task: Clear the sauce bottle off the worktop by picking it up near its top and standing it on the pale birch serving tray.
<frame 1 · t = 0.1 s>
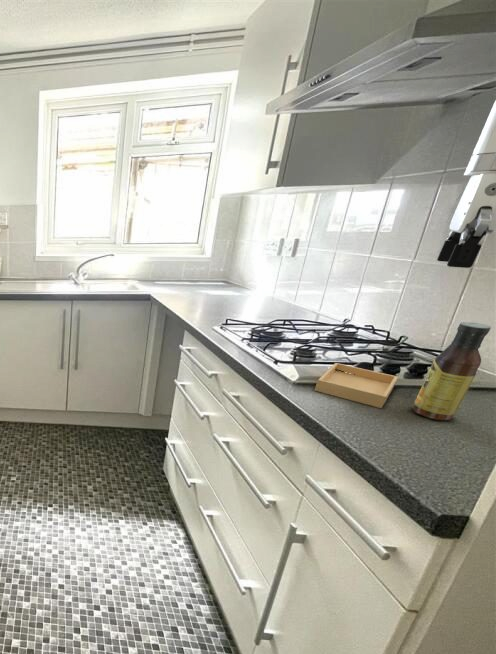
hand: (452, 264, 81), 30 cm above the countertop, tool pointing down, fingers open, 9 cm apart
serving tray: (354, 388, 100), on the countertop
sauce bottle: (430, 415, 88), on the countertop
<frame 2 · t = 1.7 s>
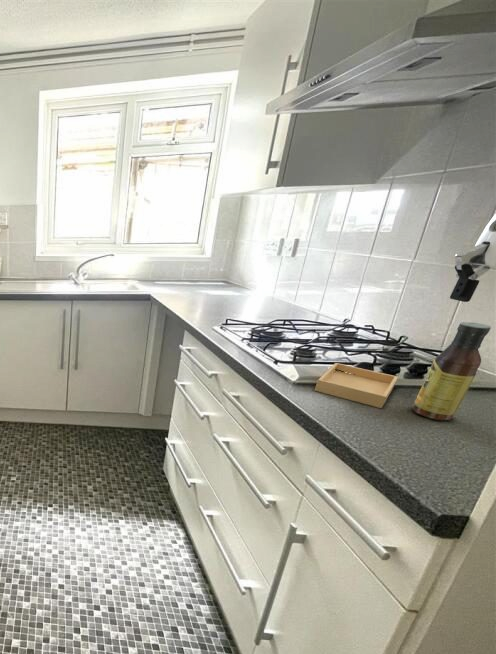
hand: (485, 301, 78), 24 cm above the countertop, tool pointing down, fingers open, 9 cm apart
nothing on the countertop moved.
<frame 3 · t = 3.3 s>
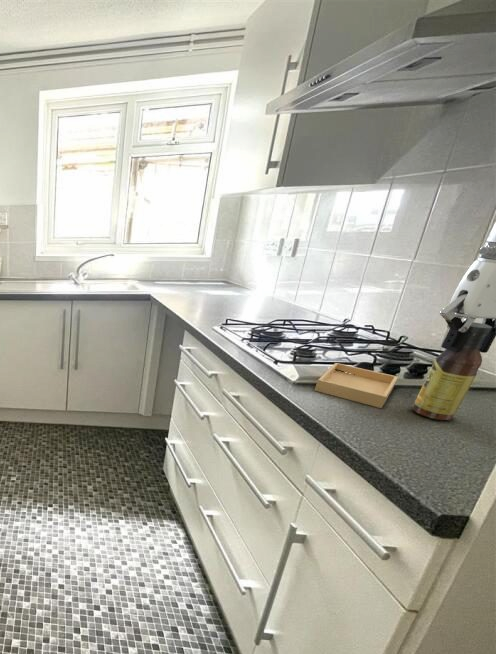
hand: (463, 349, 82), 15 cm above the countertop, tool pointing down, fingers closed on sauce bottle, 4 cm apart
sauce bottle: (430, 415, 88), on the countertop, touching gripper
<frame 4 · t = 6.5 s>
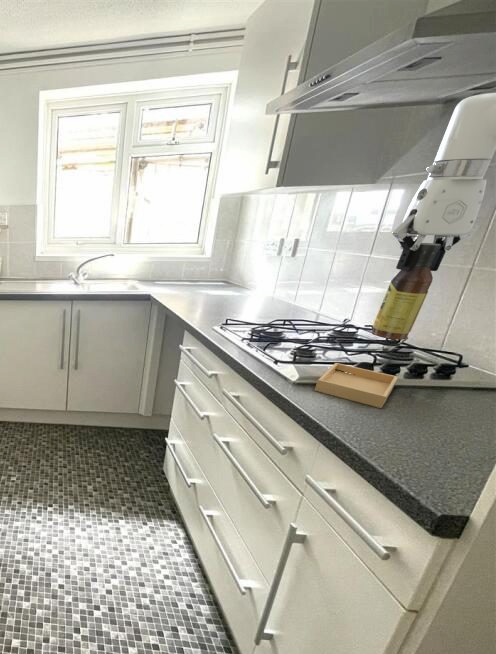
hand: (416, 269, 87), 28 cm above the countertop, tool pointing down, fingers closed on sauce bottle, 4 cm apart
sauce bottle: (387, 337, 93), point 14 cm above the countertop, touching gripper
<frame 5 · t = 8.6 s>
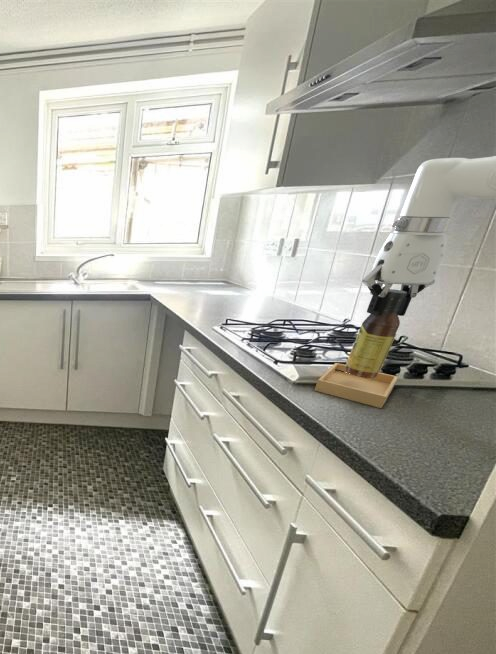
hand: (385, 313, 92), 19 cm above the countertop, tool pointing down, fingers closed on sauce bottle, 4 cm apart
sauce bottle: (359, 375, 99), point 4 cm above the countertop, touching gripper
when the fingers open (16 cm above the countertop, at t = 9.8 s): sauce bottle stays where it is, resting on serving tray.
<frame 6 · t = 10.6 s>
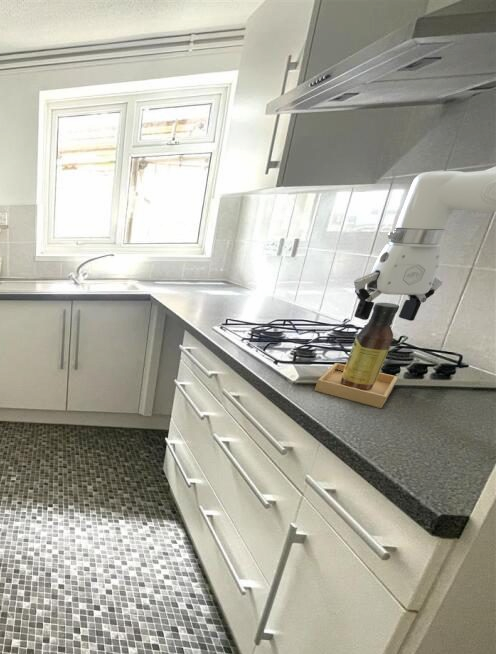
hand: (383, 318, 93), 17 cm above the countertop, tool pointing down, fingers open, 9 cm apart
sauce bottle: (354, 386, 100), point 1 cm above the countertop, touching serving tray
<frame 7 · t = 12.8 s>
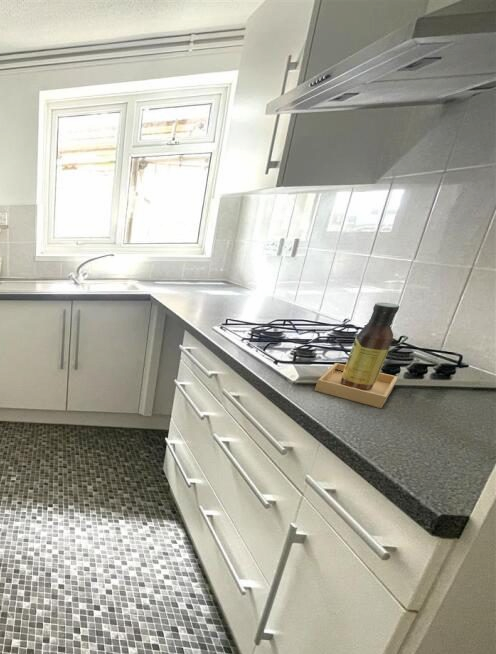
nothing on the countertop moved.
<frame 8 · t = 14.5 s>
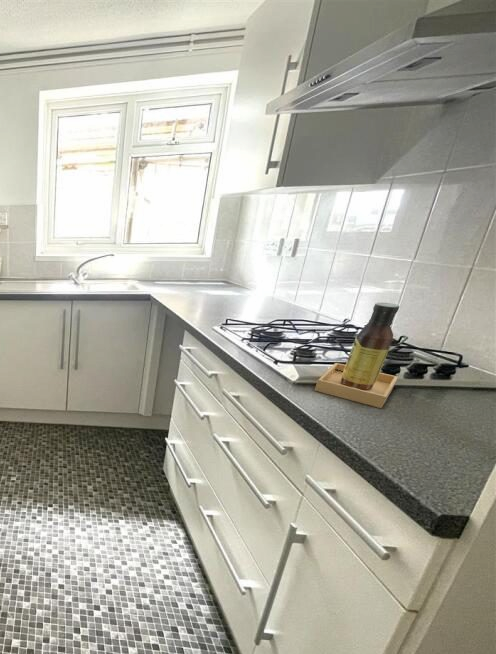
nothing on the countertop moved.
at the end: sauce bottle inside the target area in the serving tray (0.2 cm from its centre), point 0.6 cm above the serving tray's base; sauce bottle tilted 0°; the gripper is holding nothing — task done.
